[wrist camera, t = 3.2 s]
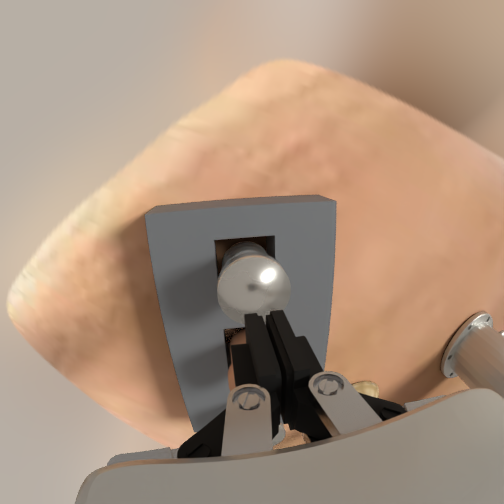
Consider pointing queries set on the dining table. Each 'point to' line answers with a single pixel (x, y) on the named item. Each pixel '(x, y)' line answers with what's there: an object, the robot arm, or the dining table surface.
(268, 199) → the panel
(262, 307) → the ball
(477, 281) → the dining table surface
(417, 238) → the dining table surface
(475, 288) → the dining table surface
